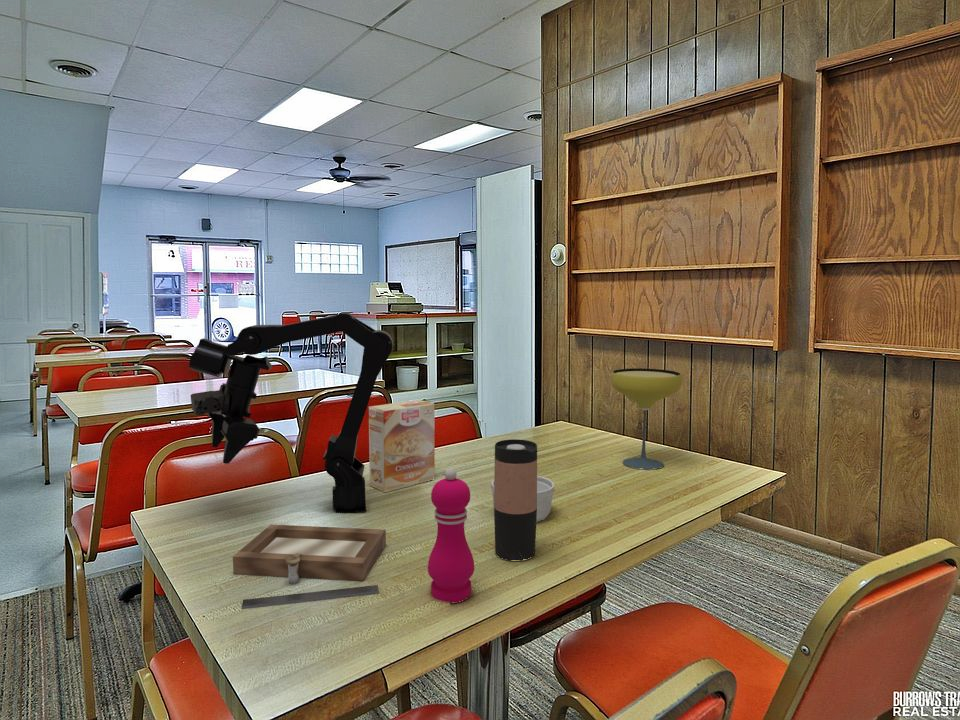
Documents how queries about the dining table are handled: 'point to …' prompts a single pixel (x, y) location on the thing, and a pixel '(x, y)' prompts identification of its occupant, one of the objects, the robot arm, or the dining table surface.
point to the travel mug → (515, 498)
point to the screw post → (293, 573)
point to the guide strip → (309, 596)
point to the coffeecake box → (401, 444)
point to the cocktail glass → (645, 398)
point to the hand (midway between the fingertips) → (219, 454)
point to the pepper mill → (450, 541)
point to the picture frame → (311, 552)
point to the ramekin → (540, 496)
